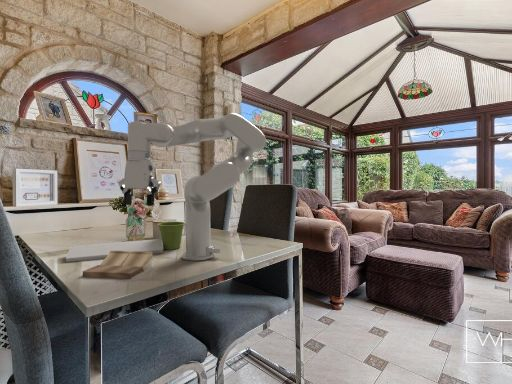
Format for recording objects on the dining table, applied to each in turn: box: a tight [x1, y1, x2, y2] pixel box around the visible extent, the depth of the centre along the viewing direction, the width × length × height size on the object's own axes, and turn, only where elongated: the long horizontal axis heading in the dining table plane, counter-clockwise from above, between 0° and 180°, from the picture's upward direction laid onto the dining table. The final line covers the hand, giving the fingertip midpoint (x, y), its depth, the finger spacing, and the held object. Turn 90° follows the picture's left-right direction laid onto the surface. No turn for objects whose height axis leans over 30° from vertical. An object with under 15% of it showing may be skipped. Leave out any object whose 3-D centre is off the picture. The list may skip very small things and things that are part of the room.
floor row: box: [82, 264, 145, 279], centre depth 87 cm, size 16×8×2 cm, turn 83°
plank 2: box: [122, 251, 154, 271], centre depth 93 cm, size 8×7×2 cm
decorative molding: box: [65, 238, 164, 263], centre depth 112 cm, size 34×5×10 cm
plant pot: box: [157, 221, 186, 251], centre depth 122 cm, size 12×12×11 cm
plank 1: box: [99, 251, 131, 266], centre depth 94 cm, size 8×7×2 cm
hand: (139, 205), depth 97 cm, fingers open, 9 cm apart
